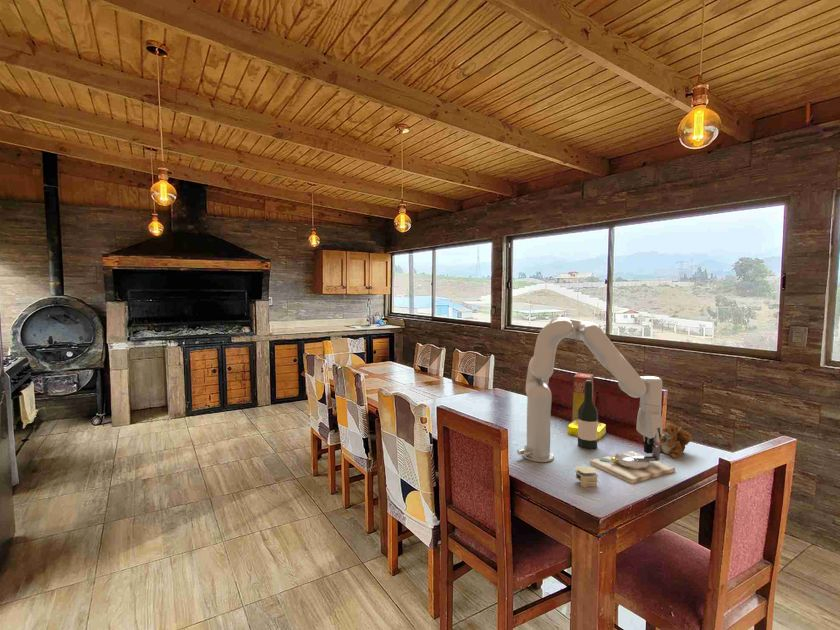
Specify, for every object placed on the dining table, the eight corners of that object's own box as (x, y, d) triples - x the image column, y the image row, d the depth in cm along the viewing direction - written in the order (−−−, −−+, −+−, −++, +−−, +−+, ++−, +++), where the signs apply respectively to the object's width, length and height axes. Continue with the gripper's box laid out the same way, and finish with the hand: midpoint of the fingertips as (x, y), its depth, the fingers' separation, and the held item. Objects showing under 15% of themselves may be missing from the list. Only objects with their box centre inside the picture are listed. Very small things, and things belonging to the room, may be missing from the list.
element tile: (575, 426, 213) (575, 417, 213) (606, 432, 204) (606, 423, 203) (566, 434, 201) (566, 424, 201) (598, 441, 192) (598, 430, 192)
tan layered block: (595, 479, 152) (595, 464, 152) (605, 490, 143) (605, 475, 143) (568, 478, 152) (568, 464, 152) (576, 490, 143) (576, 474, 143)
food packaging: (589, 425, 213) (590, 378, 212) (571, 422, 218) (571, 376, 217) (593, 419, 225) (594, 373, 224) (575, 416, 230) (576, 372, 228)
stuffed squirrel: (650, 450, 179) (651, 421, 178) (674, 446, 184) (675, 417, 183) (671, 459, 169) (672, 428, 169) (695, 454, 174) (696, 424, 174)
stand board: (631, 483, 148) (631, 478, 148) (589, 463, 165) (590, 459, 165) (675, 471, 158) (675, 467, 157) (631, 454, 175) (631, 450, 175)
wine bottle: (599, 450, 179) (600, 382, 178) (579, 449, 181) (580, 381, 179) (595, 443, 187) (596, 378, 186) (576, 442, 189) (577, 378, 187)
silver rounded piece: (618, 469, 155) (618, 452, 155) (604, 457, 167) (604, 441, 167) (668, 469, 155) (668, 452, 155) (650, 457, 167) (651, 441, 167)
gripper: (630, 402, 171) (628, 446, 172) (653, 413, 156) (652, 460, 157) (647, 402, 172) (645, 445, 172) (672, 412, 157) (670, 459, 158)
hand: (648, 452), depth 165 cm, fingers closed
